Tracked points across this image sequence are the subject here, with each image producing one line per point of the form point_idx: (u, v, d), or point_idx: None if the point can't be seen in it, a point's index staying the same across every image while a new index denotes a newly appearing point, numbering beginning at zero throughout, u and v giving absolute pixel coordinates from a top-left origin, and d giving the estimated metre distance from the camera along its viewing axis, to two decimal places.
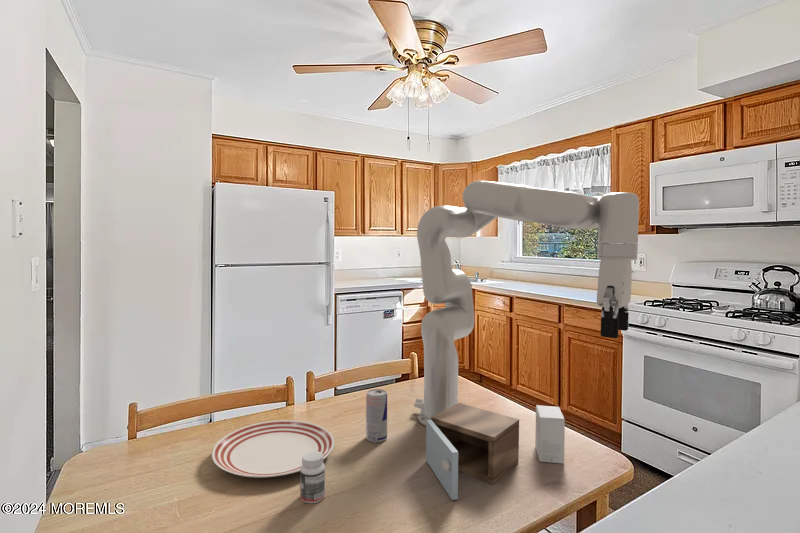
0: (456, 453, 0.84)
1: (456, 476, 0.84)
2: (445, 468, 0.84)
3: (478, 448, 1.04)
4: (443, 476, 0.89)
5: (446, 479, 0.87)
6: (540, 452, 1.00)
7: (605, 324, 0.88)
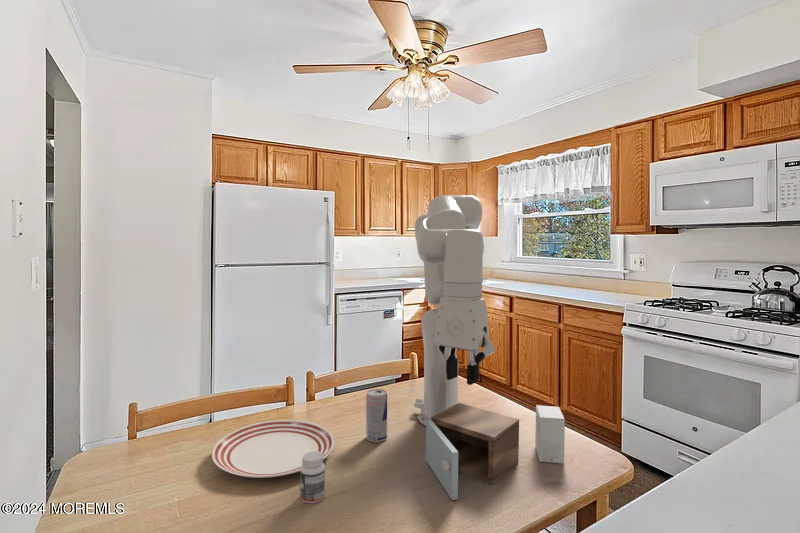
0: (456, 453, 0.84)
1: (456, 476, 0.84)
2: (445, 468, 0.84)
3: (478, 448, 1.04)
4: (443, 476, 0.89)
5: (446, 479, 0.87)
6: (540, 452, 1.00)
7: (475, 371, 0.86)
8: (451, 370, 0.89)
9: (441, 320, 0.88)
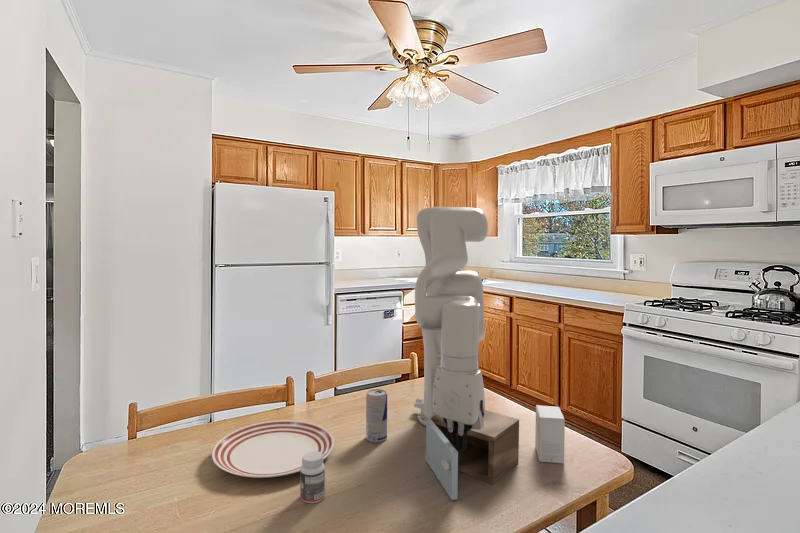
0: (456, 453, 0.84)
1: (456, 476, 0.84)
2: (445, 468, 0.84)
3: (478, 448, 1.04)
4: (443, 476, 0.89)
5: (446, 479, 0.87)
6: (540, 452, 1.00)
7: (463, 441, 0.87)
8: None
9: (438, 391, 0.88)
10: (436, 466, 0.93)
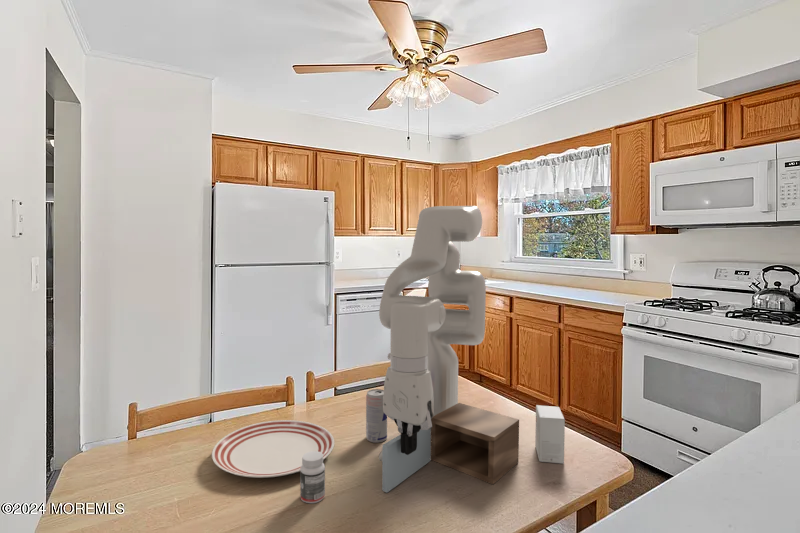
0: (385, 447, 0.87)
1: (385, 469, 0.87)
2: (379, 457, 0.88)
3: (478, 448, 1.04)
4: None
5: None
6: (540, 452, 1.00)
7: (413, 441, 0.87)
8: None
9: (387, 392, 0.88)
10: None
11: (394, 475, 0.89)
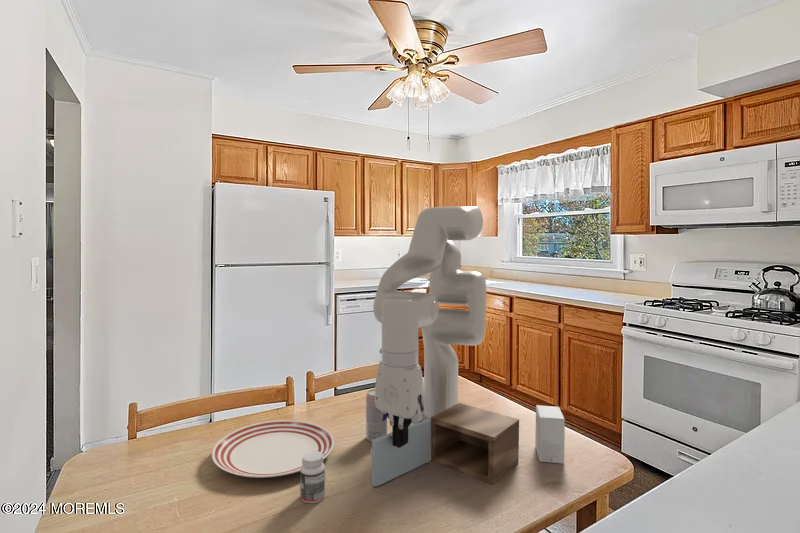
0: (374, 442, 0.89)
1: (374, 464, 0.89)
2: (370, 452, 0.91)
3: (478, 448, 1.04)
4: None
5: None
6: (540, 452, 1.00)
7: (404, 434, 0.89)
8: None
9: (379, 386, 0.90)
10: None
11: (384, 470, 0.90)
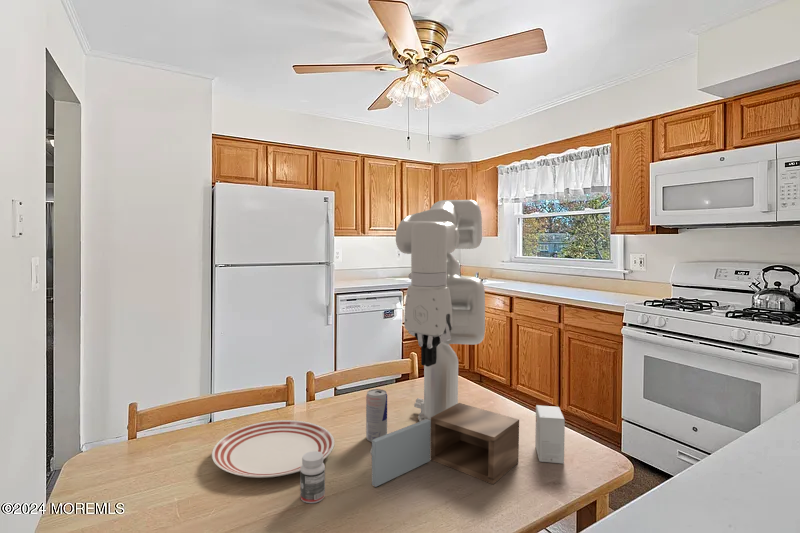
0: (374, 442, 0.89)
1: (374, 464, 0.89)
2: (370, 452, 0.91)
3: (478, 448, 1.04)
4: None
5: None
6: (540, 452, 1.00)
7: (432, 354, 0.93)
8: None
9: (408, 308, 0.93)
10: None
11: (384, 470, 0.90)
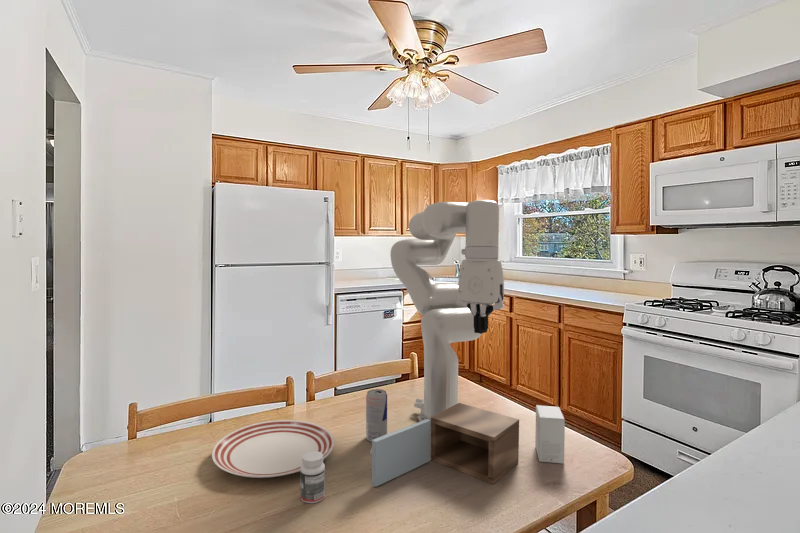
0: (374, 442, 0.89)
1: (374, 464, 0.89)
2: (370, 452, 0.91)
3: (478, 448, 1.04)
4: None
5: None
6: (540, 452, 1.00)
7: (485, 322, 1.01)
8: None
9: (463, 279, 1.02)
10: None
11: (384, 470, 0.90)
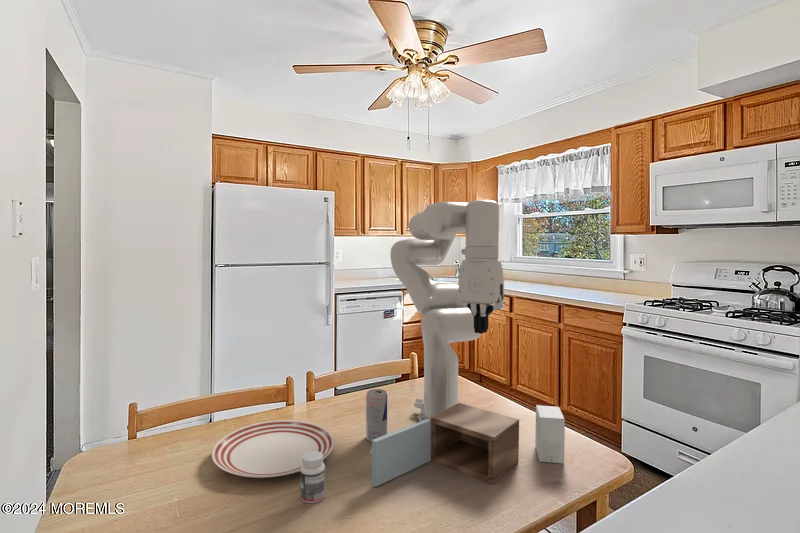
0: (374, 442, 0.89)
1: (374, 464, 0.89)
2: (370, 452, 0.91)
3: (478, 448, 1.04)
4: None
5: None
6: (540, 452, 1.00)
7: (485, 322, 1.01)
8: None
9: (463, 279, 1.02)
10: None
11: (384, 470, 0.90)
